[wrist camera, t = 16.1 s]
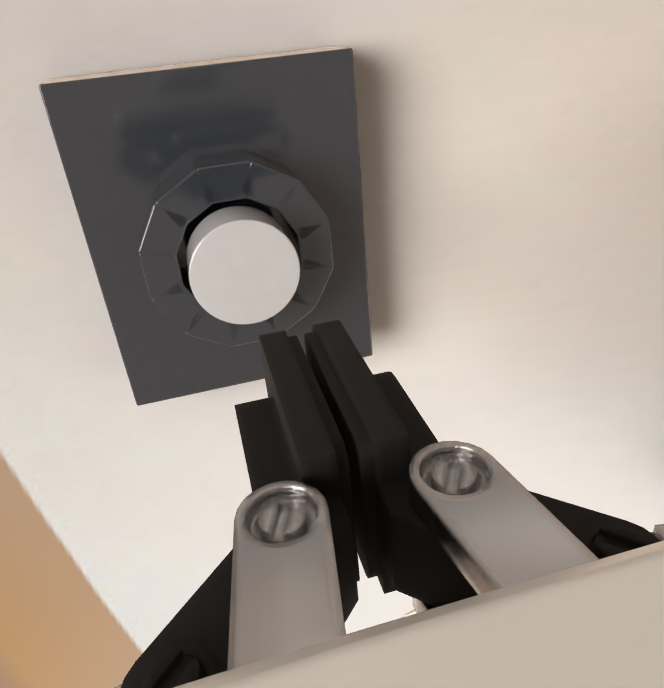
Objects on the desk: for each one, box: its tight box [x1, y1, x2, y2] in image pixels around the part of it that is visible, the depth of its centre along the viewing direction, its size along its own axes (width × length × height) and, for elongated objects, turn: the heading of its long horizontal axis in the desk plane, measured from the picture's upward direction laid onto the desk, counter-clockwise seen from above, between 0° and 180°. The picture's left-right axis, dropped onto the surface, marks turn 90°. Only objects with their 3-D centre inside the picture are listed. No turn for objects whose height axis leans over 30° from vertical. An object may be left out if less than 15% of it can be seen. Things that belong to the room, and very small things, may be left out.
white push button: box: [186, 206, 300, 324], centre depth 20 cm, size 4×4×2 cm
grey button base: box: [39, 46, 372, 406], centre depth 22 cm, size 12×10×4 cm
